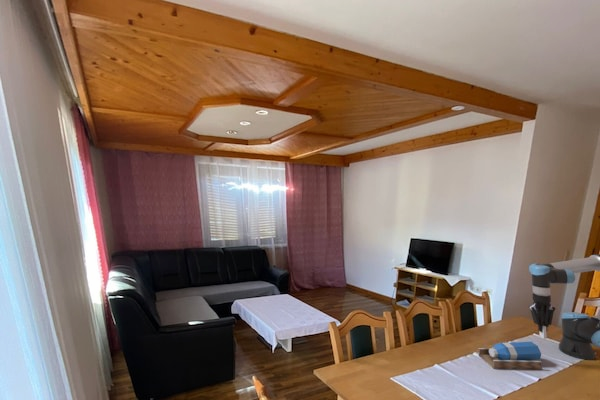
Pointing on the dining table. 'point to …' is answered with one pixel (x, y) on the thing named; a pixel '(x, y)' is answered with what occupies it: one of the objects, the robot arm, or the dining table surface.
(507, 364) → the cradle
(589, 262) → the robot arm
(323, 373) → the dining table surface
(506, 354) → the water bottle
